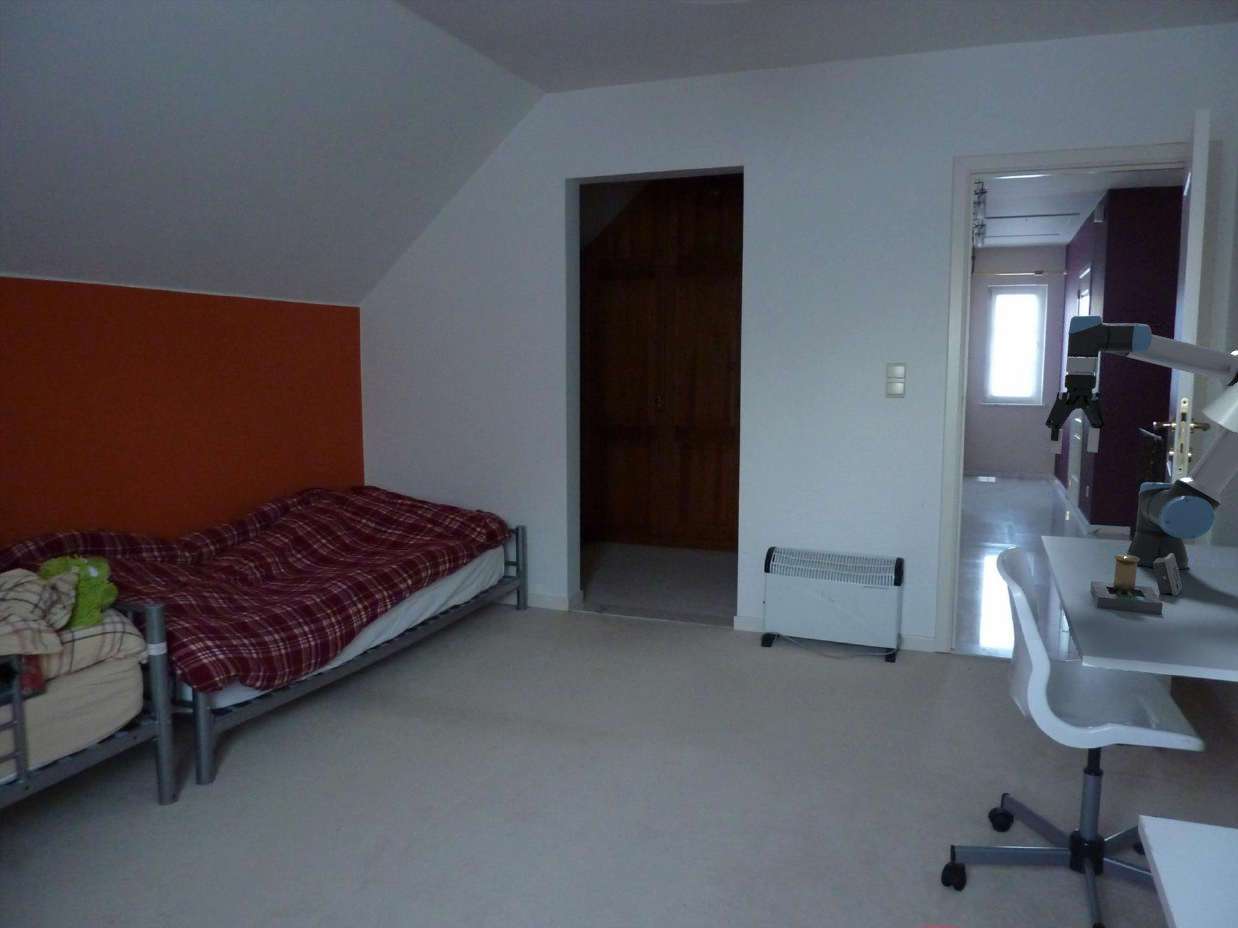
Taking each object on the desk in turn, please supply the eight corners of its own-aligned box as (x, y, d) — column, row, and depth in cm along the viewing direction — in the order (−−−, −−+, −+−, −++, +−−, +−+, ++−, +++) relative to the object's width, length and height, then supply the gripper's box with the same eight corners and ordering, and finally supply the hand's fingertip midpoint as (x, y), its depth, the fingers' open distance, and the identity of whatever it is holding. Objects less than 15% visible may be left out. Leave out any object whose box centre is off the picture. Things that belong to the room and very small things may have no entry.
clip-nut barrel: (1120, 598, 220) (1125, 553, 219) (1140, 604, 216) (1144, 558, 214) (1105, 600, 218) (1109, 555, 217) (1124, 606, 214) (1129, 560, 212)
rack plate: (1090, 590, 227) (1091, 580, 227) (1150, 597, 222) (1151, 586, 222) (1097, 607, 212) (1098, 595, 212) (1161, 614, 208) (1162, 602, 207)
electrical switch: (1176, 597, 223) (1176, 559, 222) (1152, 595, 226) (1151, 558, 226) (1182, 590, 230) (1182, 553, 230) (1158, 588, 234) (1158, 552, 233)
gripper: (1101, 373, 253) (1095, 449, 256) (1035, 373, 244) (1028, 452, 246) (1126, 374, 247) (1119, 453, 249) (1058, 374, 237) (1051, 455, 240)
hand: (1074, 452), depth 248 cm, fingers open, 13 cm apart
